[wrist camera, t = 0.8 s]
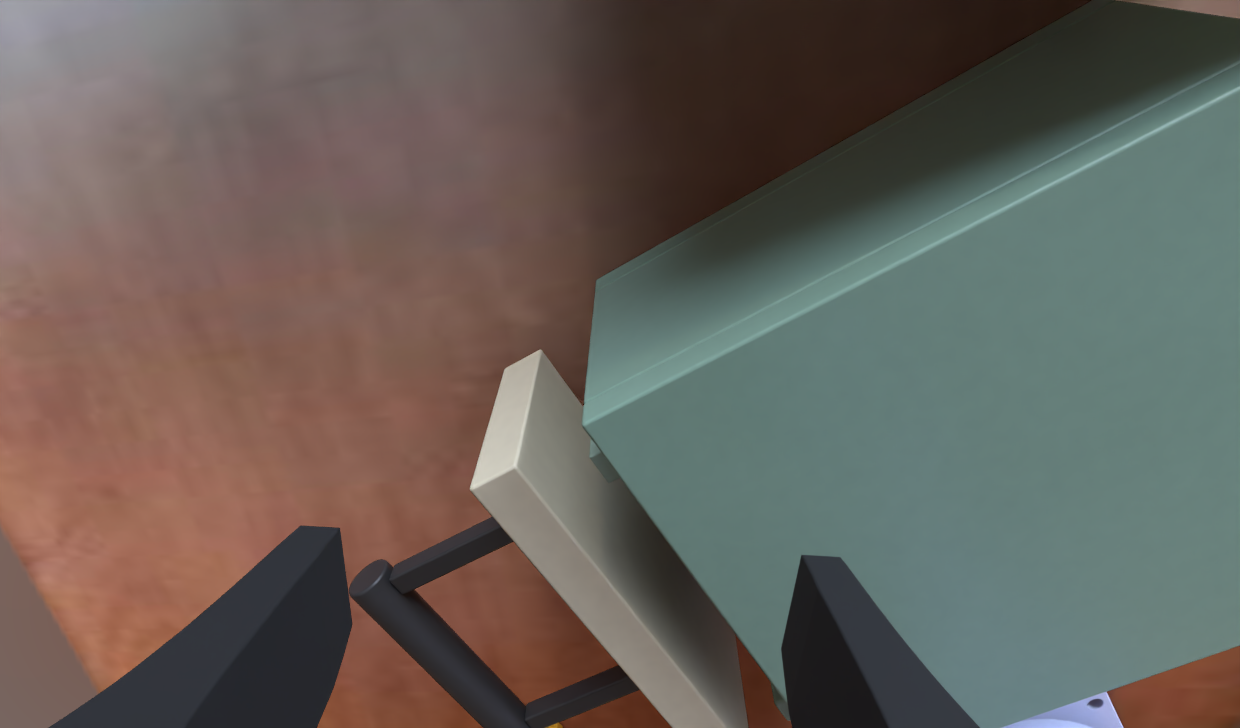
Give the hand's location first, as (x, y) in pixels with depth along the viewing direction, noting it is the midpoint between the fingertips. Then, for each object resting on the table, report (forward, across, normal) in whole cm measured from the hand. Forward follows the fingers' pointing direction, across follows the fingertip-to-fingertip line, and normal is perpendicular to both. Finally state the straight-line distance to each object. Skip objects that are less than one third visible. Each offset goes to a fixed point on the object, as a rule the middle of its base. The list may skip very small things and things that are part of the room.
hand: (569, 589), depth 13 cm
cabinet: (+10, -9, 0) cm, 13 cm away
